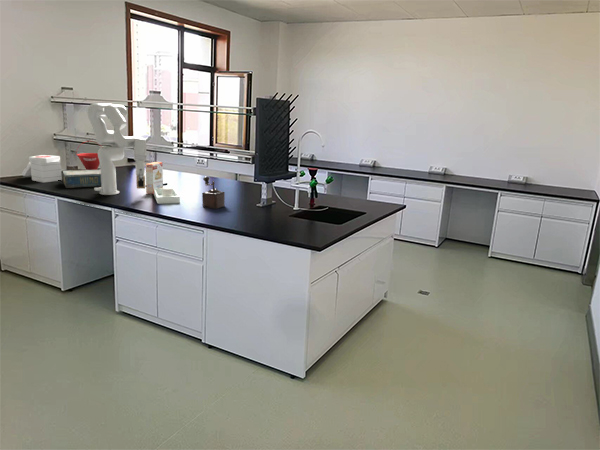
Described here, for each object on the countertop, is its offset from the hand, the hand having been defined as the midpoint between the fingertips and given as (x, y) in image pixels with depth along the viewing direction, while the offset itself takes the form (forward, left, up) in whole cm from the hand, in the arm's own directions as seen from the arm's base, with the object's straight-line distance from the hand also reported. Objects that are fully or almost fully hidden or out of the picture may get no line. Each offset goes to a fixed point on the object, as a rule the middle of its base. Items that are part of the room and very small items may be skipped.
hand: (140, 185), depth 298 cm
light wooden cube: (0, 0, -2) cm, 2 cm away
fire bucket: (-32, +89, -10) cm, 95 cm away
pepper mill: (+41, -25, -10) cm, 49 cm away
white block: (+16, -10, -9) cm, 21 cm away
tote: (+16, -2, -10) cm, 18 cm away
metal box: (-34, +62, -10) cm, 71 cm away
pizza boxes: (-67, +88, -10) cm, 112 cm away
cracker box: (+11, +25, -10) cm, 29 cm away
